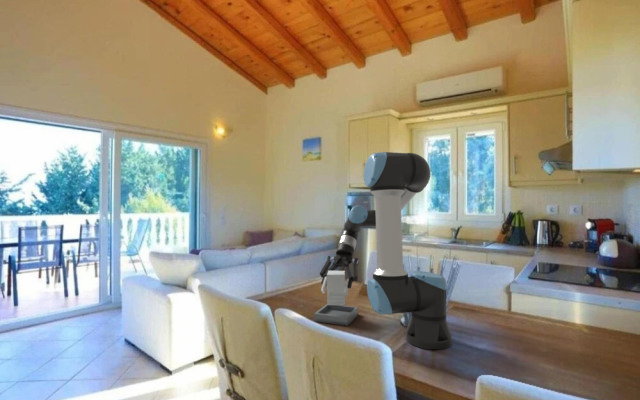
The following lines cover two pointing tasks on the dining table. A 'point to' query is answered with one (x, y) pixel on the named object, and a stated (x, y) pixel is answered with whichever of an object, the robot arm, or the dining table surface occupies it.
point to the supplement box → (335, 287)
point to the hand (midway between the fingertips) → (333, 293)
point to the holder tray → (336, 314)
